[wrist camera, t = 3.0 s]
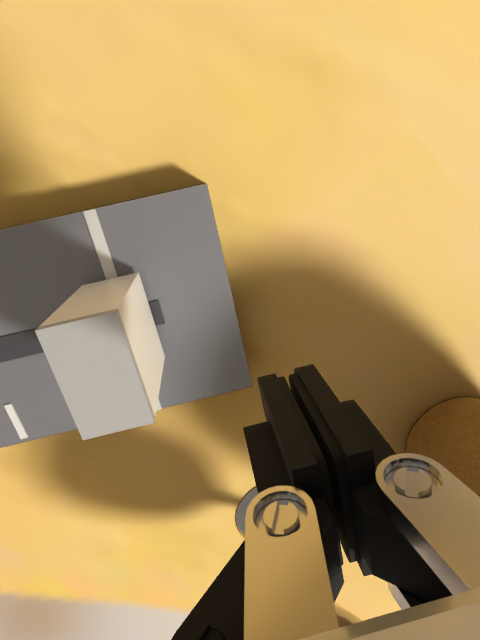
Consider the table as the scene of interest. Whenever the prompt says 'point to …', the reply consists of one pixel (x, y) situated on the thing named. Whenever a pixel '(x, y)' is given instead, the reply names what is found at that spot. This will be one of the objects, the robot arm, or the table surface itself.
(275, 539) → the robot arm
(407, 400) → the table surface
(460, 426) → the plant pot
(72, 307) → the fader tab
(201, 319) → the console
